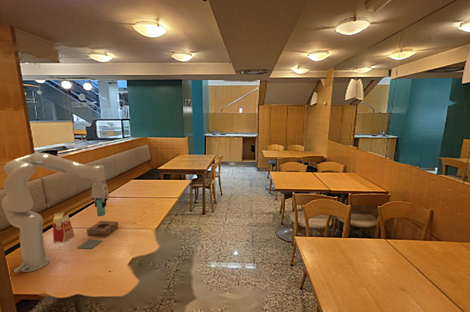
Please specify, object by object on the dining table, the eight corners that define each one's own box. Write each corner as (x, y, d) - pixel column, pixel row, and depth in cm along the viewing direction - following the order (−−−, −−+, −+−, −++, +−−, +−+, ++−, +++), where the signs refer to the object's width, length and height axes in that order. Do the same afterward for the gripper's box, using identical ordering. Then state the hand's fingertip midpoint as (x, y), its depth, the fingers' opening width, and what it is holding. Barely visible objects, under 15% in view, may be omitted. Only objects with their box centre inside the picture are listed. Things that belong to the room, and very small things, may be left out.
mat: (91, 249, 142) (91, 248, 141) (77, 248, 143) (77, 247, 142) (102, 241, 151) (102, 240, 151) (88, 240, 152) (88, 239, 152)
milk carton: (75, 236, 157) (72, 209, 154) (64, 243, 148) (60, 215, 145) (63, 235, 158) (60, 209, 155) (51, 242, 149) (48, 214, 146)
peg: (102, 216, 159) (101, 200, 157) (95, 216, 159) (94, 200, 158) (106, 213, 164) (105, 198, 162) (100, 213, 164) (99, 197, 162)
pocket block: (105, 237, 156) (105, 230, 156) (87, 236, 158) (86, 229, 157) (118, 227, 170) (117, 221, 169) (101, 226, 172) (100, 220, 171)
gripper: (113, 181, 161) (115, 205, 163) (91, 180, 163) (93, 204, 165) (106, 184, 153) (108, 209, 156) (84, 183, 155) (86, 208, 158)
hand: (100, 206), depth 161 cm, fingers closed on peg, 5 cm apart
